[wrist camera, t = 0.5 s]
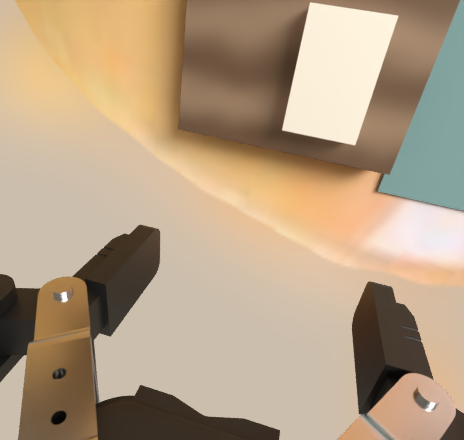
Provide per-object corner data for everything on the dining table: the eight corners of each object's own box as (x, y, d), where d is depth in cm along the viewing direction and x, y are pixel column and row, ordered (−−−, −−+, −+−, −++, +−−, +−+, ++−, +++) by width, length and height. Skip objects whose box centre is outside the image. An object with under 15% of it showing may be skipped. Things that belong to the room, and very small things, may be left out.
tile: (311, 5, 26) (309, 2, 23) (392, 18, 25) (398, 15, 23) (285, 124, 30) (281, 130, 28) (353, 138, 29) (355, 145, 27)
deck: (206, -41, 29) (190, -53, 26) (447, -7, 26) (466, -15, 23) (192, 121, 36) (178, 129, 33) (382, 161, 33) (389, 174, 30)
